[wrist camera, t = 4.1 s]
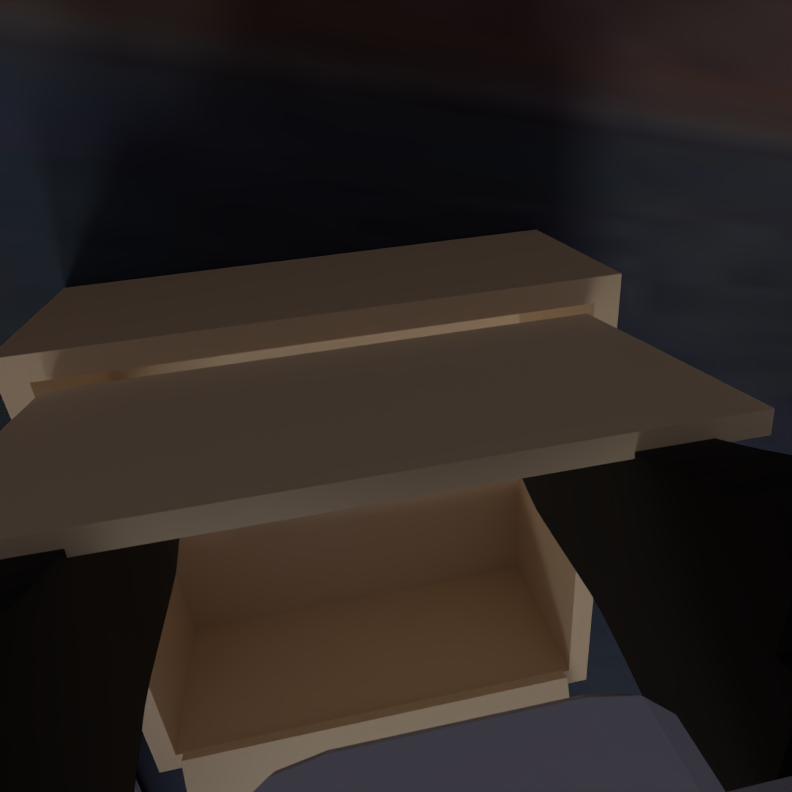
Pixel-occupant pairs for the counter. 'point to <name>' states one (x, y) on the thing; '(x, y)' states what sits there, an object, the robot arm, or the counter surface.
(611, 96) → the counter surface
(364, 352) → the flap
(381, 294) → the cardboard box
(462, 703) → the flap
